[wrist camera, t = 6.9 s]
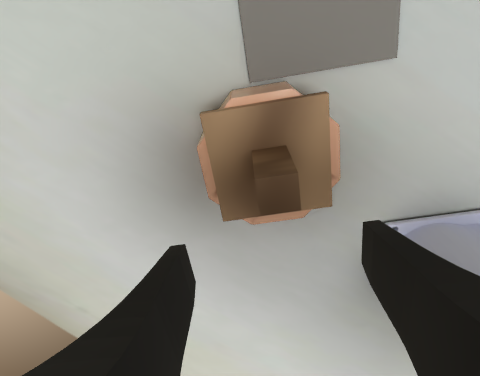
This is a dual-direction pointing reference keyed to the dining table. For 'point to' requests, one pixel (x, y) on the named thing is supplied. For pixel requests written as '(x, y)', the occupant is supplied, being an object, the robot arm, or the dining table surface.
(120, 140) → the dining table surface
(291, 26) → the mat
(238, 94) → the octagonal copper pot
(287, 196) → the lid
